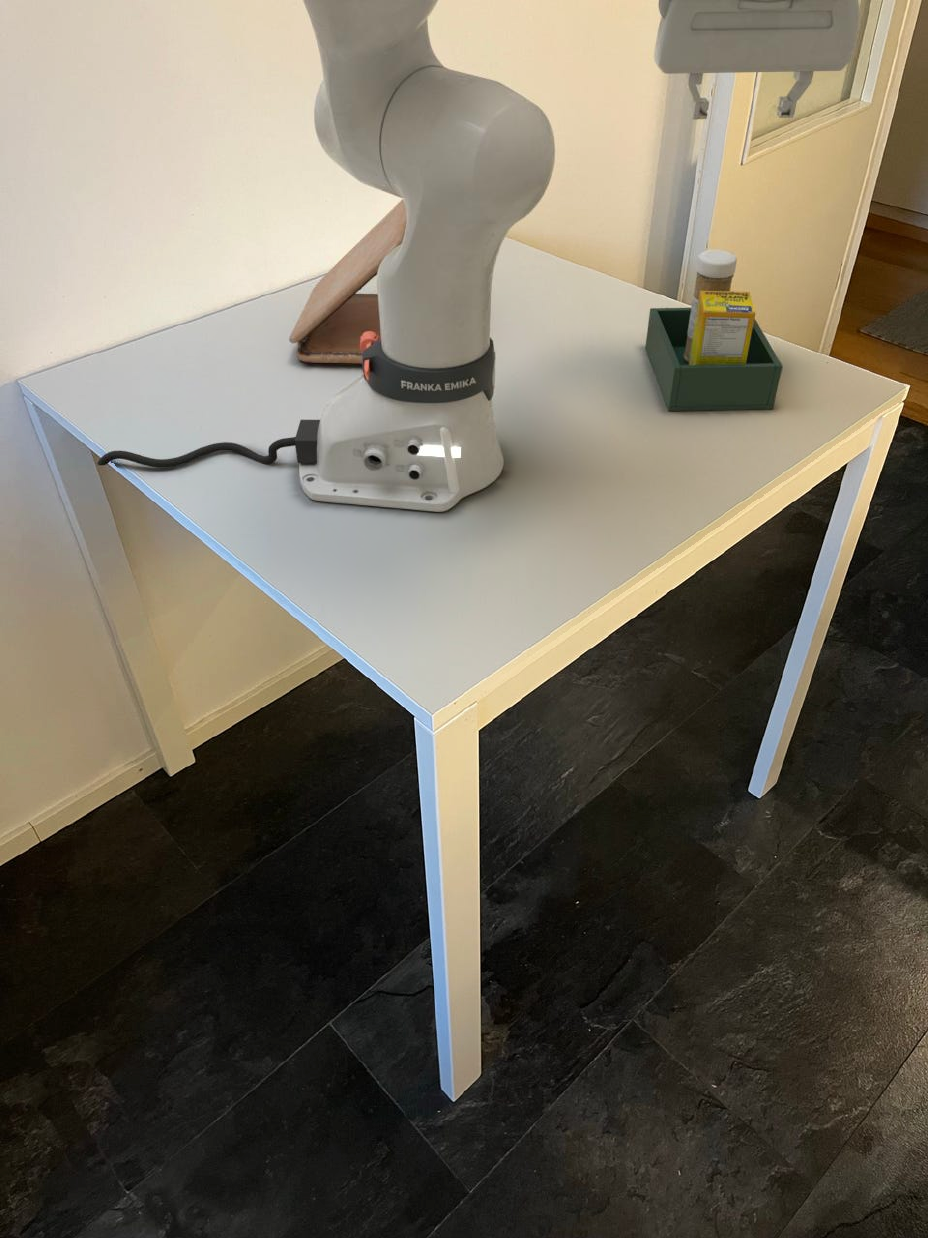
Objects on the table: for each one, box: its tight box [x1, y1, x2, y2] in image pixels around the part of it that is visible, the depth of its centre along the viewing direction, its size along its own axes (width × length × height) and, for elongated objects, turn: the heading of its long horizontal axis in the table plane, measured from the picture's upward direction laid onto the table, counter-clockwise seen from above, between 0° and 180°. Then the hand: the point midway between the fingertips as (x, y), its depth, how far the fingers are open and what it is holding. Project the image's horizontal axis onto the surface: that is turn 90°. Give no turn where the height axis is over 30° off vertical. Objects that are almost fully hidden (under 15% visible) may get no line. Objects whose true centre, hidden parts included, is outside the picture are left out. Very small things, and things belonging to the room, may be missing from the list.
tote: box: [644, 307, 784, 412], centre depth 119 cm, size 13×17×6 cm
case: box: [288, 198, 407, 364], centre depth 126 cm, size 20×21×16 cm
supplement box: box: [689, 290, 756, 365], centre depth 114 cm, size 6×6×11 cm
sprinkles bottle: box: [684, 249, 738, 363], centre depth 119 cm, size 5×5×14 cm
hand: (741, 117), depth 104 cm, fingers open, 8 cm apart
